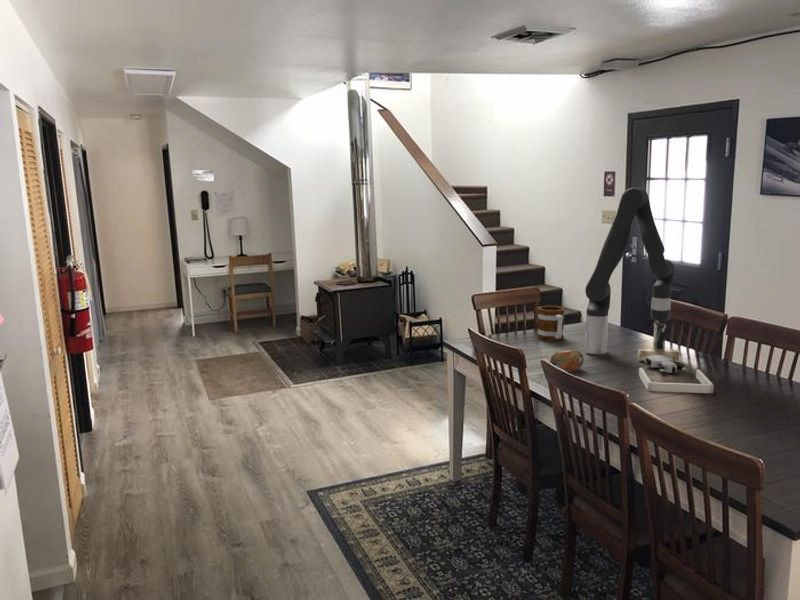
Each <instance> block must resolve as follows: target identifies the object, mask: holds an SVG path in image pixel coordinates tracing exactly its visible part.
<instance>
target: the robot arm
mask: <svg viewBox="0 0 800 600" xmlns="http://www.w3.org/2000/svg"><path fill="white" fill-rule="evenodd" d="M635 217H636V218H637V222H638V225H639V231H640V232H639V233H640V236H641V237H640V238H641V242H642V244H643V247H644V249H645V252H646V254H647V259H648V264H649V269H650V272H651V274H652V276H654V277H655V278H656V280H655V283H654V284H653V286H652V295H651V296H652V297H651V305H650V307H651V308H650V318H651V320H655V321H653V332H654V331H656V335H657V349H663V341H664V340H665V341H666V334H667V331H668V330H667V324H666V323H665V321H669V320H671V310H672V309H671V307H672V304H671V303H672V301H671V300H672V299H671V293H672V290H671V289H672V284H673V282H674V275H675V265H674V263H673V262H672V261H671V260H669V259H665V256H664V253H665V247H664V243H663V241H662V239H661V237H660V233H659V230H658V229H657V226H656V223H655V219H654V216H653V212H652V209H651V203H650V198H649V195H648V193H647V191H646V190H645V189H643V188H641V187H630V188H628V189H625V191H624V192H623V193H622V194H621V197H620V201H619V204H618V207H617V211H616V215H615V217H614V220H613V222H612V224H611V227H610V229H609V232H608V234H607V236H606V239H605V240H604V244H603V245H602V248H601V251H600V255H599V256H598V261H597V262H596V265H595V269H594V270H593V272H592V274H591V276H590V278H589V280H588V282H587V284H586V286H585V296H586V297H587V299H588V300H589V301H588V305H587V308H586V318H585V331H584V351H585V353H586V354H590V355H604V354H607V353H608V352H607V350H608V329H609V328H608V327H609V326H608V323H609V310H610V306H611V292H612V289H611V285H610V279H611V277H612V274H613V272H614V271H615V270H616V268H617V267H618V265H619V263H620V262H621V260H622V258H623V257H624V255H625V253H626V250H627V248H628V245H629V242H630V236H631V228H632V224H633V220H634V218H635ZM658 332H659V333H658ZM660 336H662V337H660Z"/></svg>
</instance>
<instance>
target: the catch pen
mask: <svg viewBox="0 0 800 600" xmlns="http://www.w3.org/2000/svg"><path fill="white" fill-rule="evenodd" d="M638 376H639V379H640V380H641V382H642V383H643V385H644V387H645V388H646V390H647V391H648V392H669V393H672V392H673V393H691V394H692V393H693V394H695V393H696V394H714V391H715V390H714V388H715V384H713V382H712V381H710V379H709V377H707V376H706V375H705V374H704V373H703V372H702V370H701V369H696V370H695V378H696V379H697V380H698V381H699V383H685V382H684V383H682V382H655V381H654V382H653V381H651V380H650V378H649V375H648V374H647V373H646V371H645V370H644V368H643V367H639V368H638Z"/></svg>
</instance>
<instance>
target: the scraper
mask: <svg viewBox="0 0 800 600" xmlns="http://www.w3.org/2000/svg"><path fill="white" fill-rule="evenodd" d="M658 333H659V332H658ZM660 337H662V336H660ZM652 340H653V343H652V349H649V348H648V349H647V348H645V349H644V348H638V349H637V359H638V360H639V361H644V360H646V357H648V356H651V355H667V356H668V355H669V356H670V357H671V358H672V359H673V360H674V362H680V350H678V349H666V348H665V347H666V339H665V340H664V341H663V349H657V335H656V331H654V330H653V339H652ZM642 357H643V358H644V360H643V359H642Z"/></svg>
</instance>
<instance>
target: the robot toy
mask: <svg viewBox="0 0 800 600" xmlns="http://www.w3.org/2000/svg"><path fill="white" fill-rule="evenodd" d="M642 359H643V360H642V361H644V362H645V364H646V365H648V366H649V367H650V368H652V369H656V368H658V369H659V370H658V371H659V372H661V373H665V372H666V373H665V374H673V373H677V370H679V371H686V370H687V368H686V367H684V365H681V364H676V363H675V361H674V360H673V359H672V358H671V357H670V356H669V355H668V356H667V355H651V356H648V357H646V360H644V358H643V357H642Z"/></svg>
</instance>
